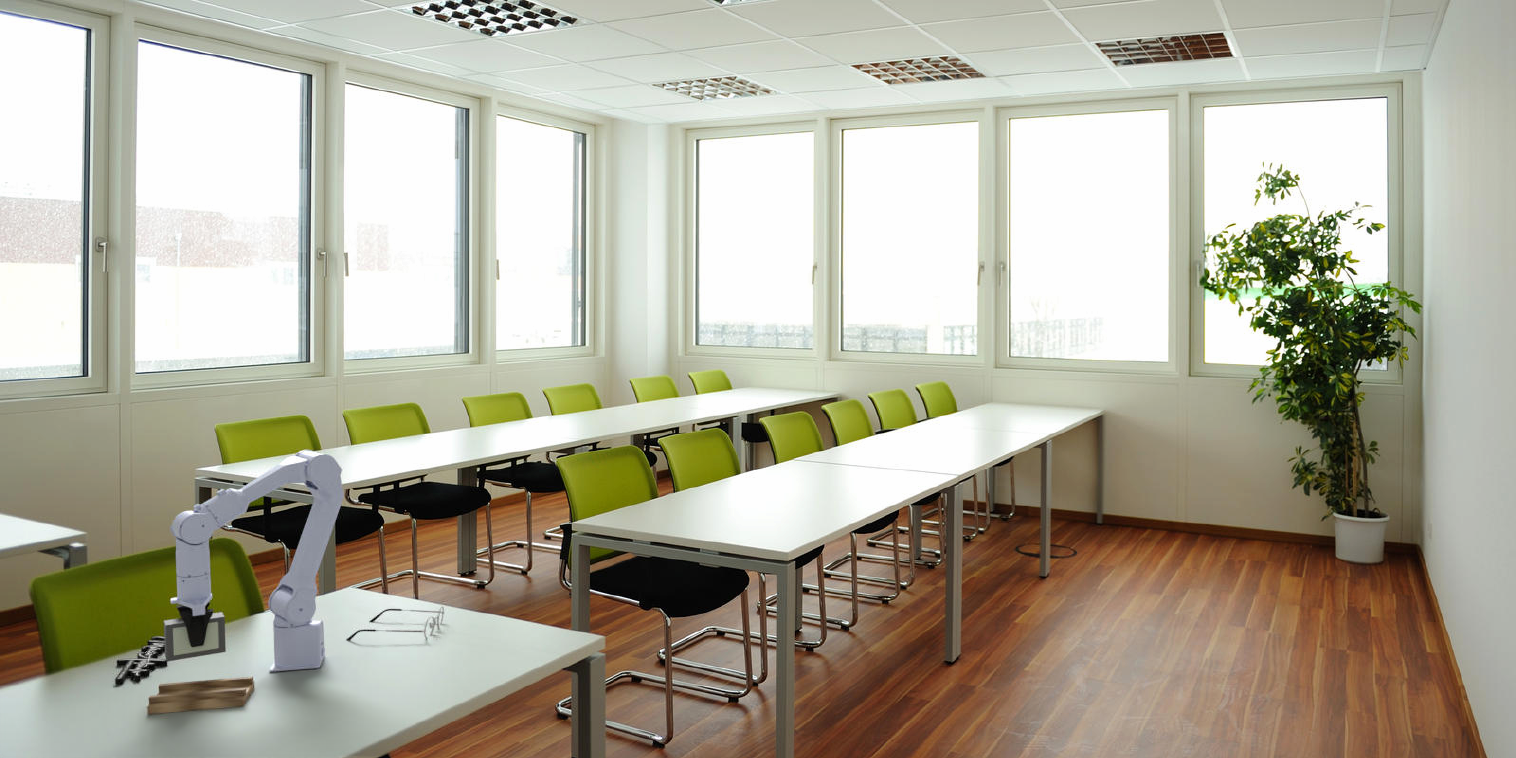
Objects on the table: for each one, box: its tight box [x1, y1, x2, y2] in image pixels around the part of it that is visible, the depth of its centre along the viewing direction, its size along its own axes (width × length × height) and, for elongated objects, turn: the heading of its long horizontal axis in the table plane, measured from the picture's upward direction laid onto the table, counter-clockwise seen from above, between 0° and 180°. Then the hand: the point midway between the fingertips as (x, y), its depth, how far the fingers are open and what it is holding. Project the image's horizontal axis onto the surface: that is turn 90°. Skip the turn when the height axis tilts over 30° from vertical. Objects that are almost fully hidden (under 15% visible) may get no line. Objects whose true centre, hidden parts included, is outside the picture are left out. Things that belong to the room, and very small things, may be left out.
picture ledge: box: [146, 676, 255, 715], centre depth 194 cm, size 16×9×3 cm, turn 105°
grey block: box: [163, 611, 227, 663], centre depth 200 cm, size 10×4×7 cm, turn 124°
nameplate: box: [114, 635, 168, 686], centre depth 215 cm, size 27×2×10 cm
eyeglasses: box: [346, 605, 445, 641], centre depth 236 cm, size 16×19×5 cm
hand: (195, 643), depth 200 cm, fingers closed on grey block, 4 cm apart
